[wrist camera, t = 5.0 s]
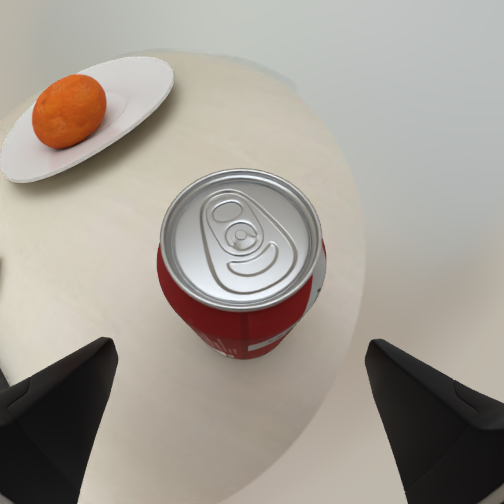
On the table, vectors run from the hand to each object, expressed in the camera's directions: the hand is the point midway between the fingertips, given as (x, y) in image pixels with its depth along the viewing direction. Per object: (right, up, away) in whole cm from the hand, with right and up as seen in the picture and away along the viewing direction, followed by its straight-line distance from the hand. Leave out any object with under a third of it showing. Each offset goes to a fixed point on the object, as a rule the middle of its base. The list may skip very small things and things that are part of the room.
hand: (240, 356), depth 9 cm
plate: (-23, +22, +22) cm, 39 cm away
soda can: (0, -1, +12) cm, 12 cm away
